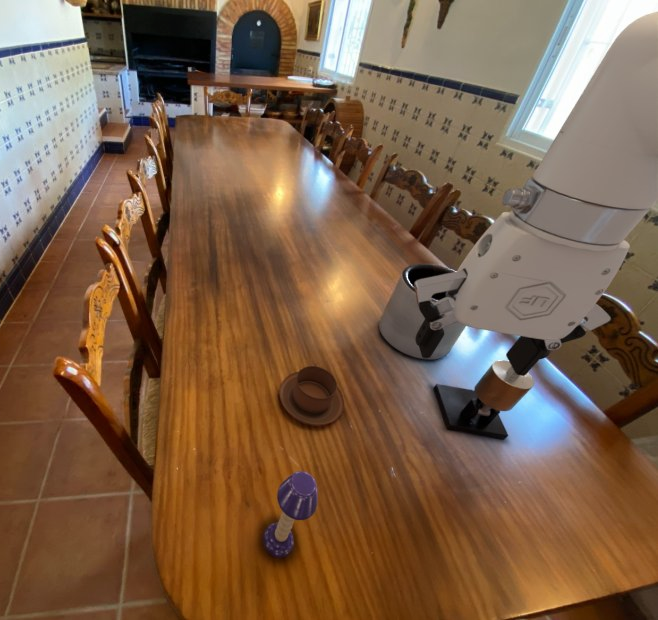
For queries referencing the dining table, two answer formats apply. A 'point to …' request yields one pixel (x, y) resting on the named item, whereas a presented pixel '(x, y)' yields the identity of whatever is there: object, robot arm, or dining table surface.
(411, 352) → the planter
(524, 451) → the dining table surface
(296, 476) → the toy lamp
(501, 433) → the dark grey lever base
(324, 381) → the cup and saucer
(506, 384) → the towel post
